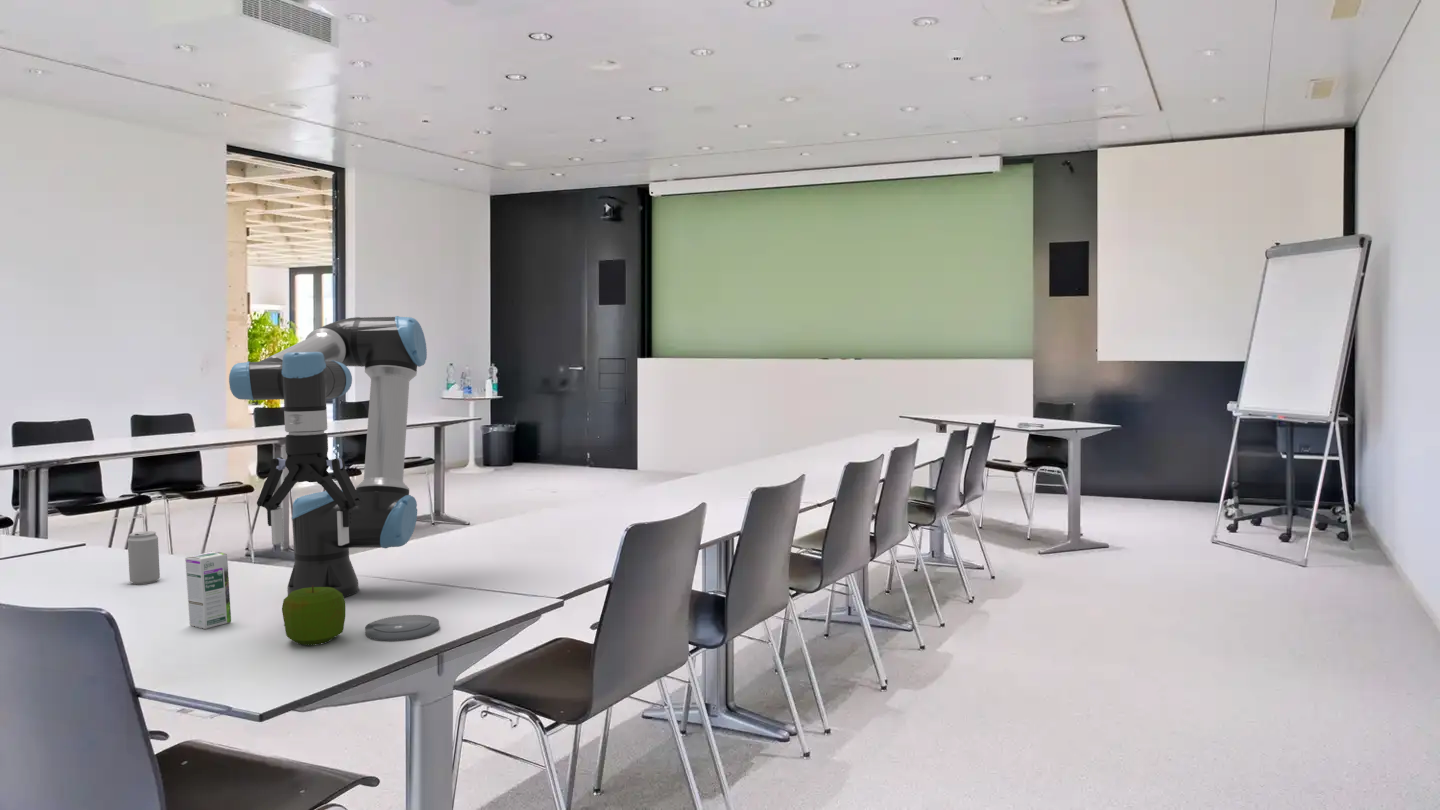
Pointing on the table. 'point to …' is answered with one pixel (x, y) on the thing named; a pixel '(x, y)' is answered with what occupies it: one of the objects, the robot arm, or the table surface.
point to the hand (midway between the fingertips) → (310, 543)
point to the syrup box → (208, 589)
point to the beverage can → (143, 557)
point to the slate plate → (402, 627)
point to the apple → (313, 615)
